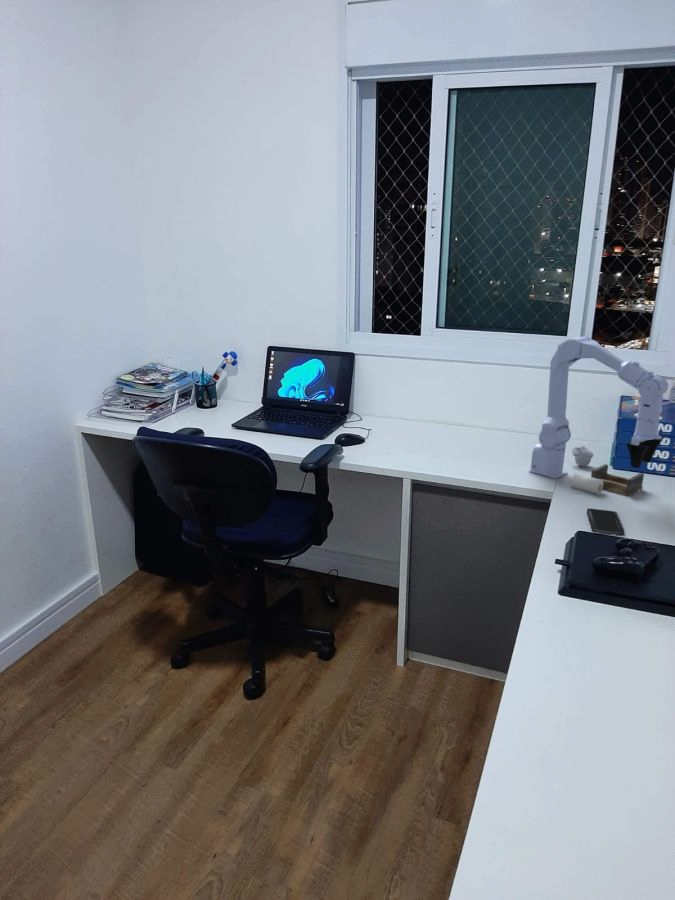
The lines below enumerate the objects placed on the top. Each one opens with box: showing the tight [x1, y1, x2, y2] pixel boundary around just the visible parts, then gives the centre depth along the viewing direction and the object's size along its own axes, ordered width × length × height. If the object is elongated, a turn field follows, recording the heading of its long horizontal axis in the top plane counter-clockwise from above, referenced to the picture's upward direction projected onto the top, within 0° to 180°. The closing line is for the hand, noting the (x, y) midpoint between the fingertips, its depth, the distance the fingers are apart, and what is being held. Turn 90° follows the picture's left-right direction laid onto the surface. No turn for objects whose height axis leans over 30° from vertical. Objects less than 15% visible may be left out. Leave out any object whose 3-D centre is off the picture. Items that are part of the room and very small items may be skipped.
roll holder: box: [590, 464, 645, 497], centre depth 202 cm, size 12×9×5 cm
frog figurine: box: [571, 444, 594, 467], centre depth 221 cm, size 6×7×7 cm
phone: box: [586, 508, 625, 536], centre depth 176 cm, size 8×1×15 cm
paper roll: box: [570, 473, 603, 495], centre depth 199 cm, size 8×4×4 cm, turn 44°
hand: (640, 464), depth 192 cm, fingers open, 7 cm apart
